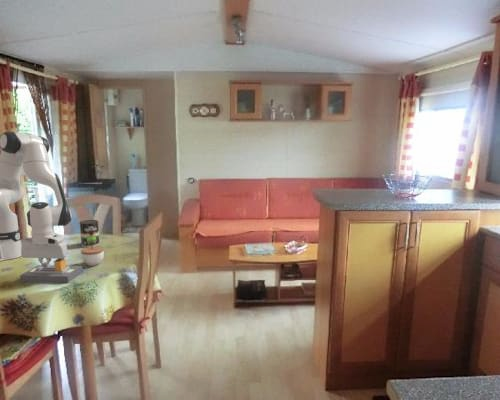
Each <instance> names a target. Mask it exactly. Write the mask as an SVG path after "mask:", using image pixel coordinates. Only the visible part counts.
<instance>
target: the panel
mask: <svg viewBox="0 0 500 400" xmlns="http://www.w3.org/2000/svg"><path fill="white" fill-rule="evenodd" d="M83 272H84V271H83V266H82V265H66V268H64V269H63V270H61V272H55V267H54V264H52V265H50V266H49V267H42V266H41V265H40V264H39V265H38V264H37V265H35V266H34V267H32V268H31V269H28V270H27V271H25V272H24V273H22V274H20V275H19V278H20V283H21V282H22V283H55V284H56V283H59V284H60V283H62V284H63V283H64V284H68V283H70V282H71V281H73V280H74V279H76V278H77V277H78V276H79V275H81V274H82V273H83Z"/></svg>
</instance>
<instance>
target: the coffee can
mask: <svg viewBox="0 0 500 400" xmlns="http://www.w3.org/2000/svg"><path fill="white" fill-rule="evenodd" d="M79 228H80V246H82V247H84V248H87V247H91V246H99V245H100V244H101V243H100V230H99V220H97V219H86V220H82V221H79Z"/></svg>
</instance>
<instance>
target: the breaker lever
mask: <svg viewBox="0 0 500 400" xmlns="http://www.w3.org/2000/svg"><path fill="white" fill-rule="evenodd" d="M53 265H54V267H55V272H61V270H63V269H64V268H66V266H67V264H66V258H63V259H55V260H54V261H53Z"/></svg>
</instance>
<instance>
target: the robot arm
mask: <svg viewBox="0 0 500 400" xmlns="http://www.w3.org/2000/svg"><path fill="white" fill-rule="evenodd" d="M0 149H1V151H0V262H1V261H2V262H3V261H8V260H12V259H17V258H21V257H22V258H23V259H37V261H38V262H39V263H40V264H41V266H42V267H49V266H50V264H51V260H52V259H55V260H57V259H63V258H64V259H66V257H67V256H68V246H67V243H66V242H65V239H66V238H65V236H64V235H62V234H60V233H56V232H55V231H54V229H53V227H64V226H65V227H66V226H67V225H69V223H70V222H71V221H72V218H73V215H72V214H73V213H72V211H71V209H70V207H69V204H68V202H67V199H66V194H65V191H64V189H63V186H62V182H61V180H60V177H59V175H58V174H57V173H55V172H54V171H53V170H52V169H51V165H50V159H49V154H48V153H49V152H50V151H49V150H50V142H49V141H48V139H47V138H45V137H43V136H41V135H35V134H31V133H25V132H24V133H23V132H14V131H4V132H3V133H2V134H1V135H0ZM22 172H24V176H26V178H27V179H28V180H29V181H32V182H34V183H37V184H39V185H44V186H46V187H49V188H51V189H52V190H53V191H54V195H55V198H56V201H57V205H50V204H49V203H48V202H46V201H45V202H44V201H39V202H38V201H37V202H34V203H32V204H30V207H29V210H28V211H27V213H26V218H27V225H28V226H29V227H31V231H30V233H31V234H30V235H31V237H24V238H22V239H21V231H20V228H19V221H18V215H17V214H16V213H14V212H13V211H12V210H11V208H10V205H12V204H15V203H17V202H18V201H21V200H22V199H23V198H24V196H25V190H24V188H23V186H22V184H21V176H22ZM44 259H45V260H44ZM45 261H46V262H45Z"/></svg>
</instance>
